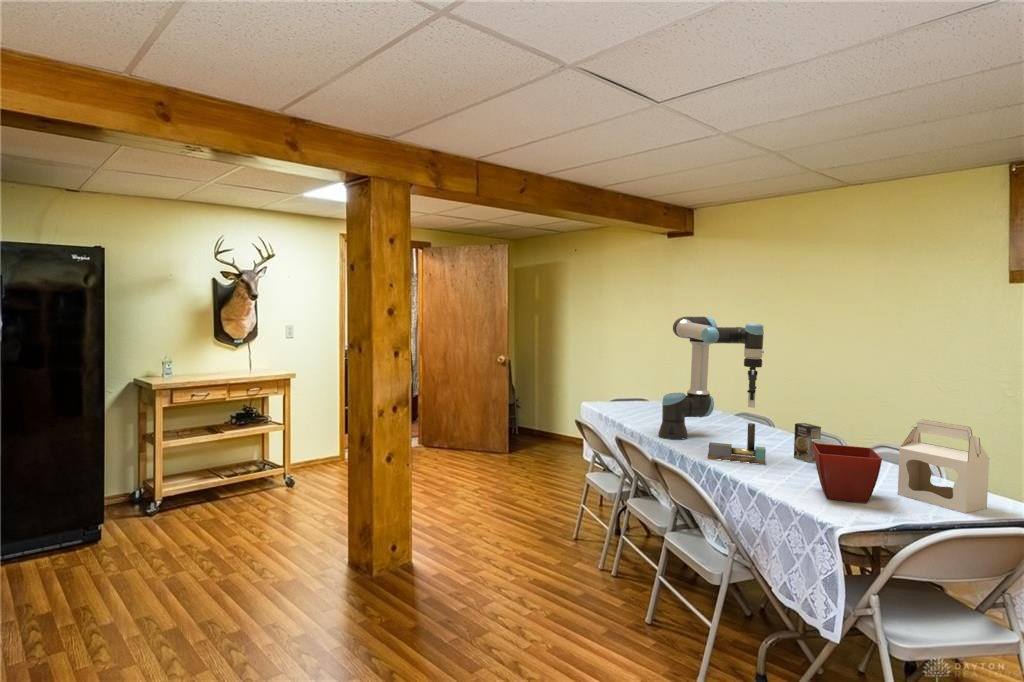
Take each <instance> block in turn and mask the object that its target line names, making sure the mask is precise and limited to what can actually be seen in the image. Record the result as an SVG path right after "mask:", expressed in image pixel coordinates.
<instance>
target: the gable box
mask: <svg viewBox="0 0 1024 682" xmlns="http://www.w3.org/2000/svg"><path fill="white" fill-rule="evenodd" d="M972 431H973V430H972V428H971V427H970V426H965V425H960V424H954V423H946V422H940V421H935V420H929V419H919V420H918V422H916V426H910V432H909V434H908V436H907V437H906V438H905V440H904V441H903V443H902V444H901V446H900V447H899V451H898V453H899V455H898V458H899V459H898V475H897V477H898V478H897V479H898V481H897V495H898V496H901V497H906V498H908V499H909V498H910V499H913V500H916V501H920V502H924V503H927V504H930V505H934V506H937V507H941V508H945V509H948V510H952V511H956V512H959V513H963V514H968V513H972V512H977V511H980V510H984V509H987V508H988V495H989V494H988V492H989V474H990V473H989V471H990V457H989V456H988V454H987V452H986V451H985V449H984V447H983V446H982V444H981V438H980V437H977V436H975V435H973V432H972ZM921 433H923V434H931V435H937V436H940V437H941V436H943V437H946V438H954V439H958V440H963V441H967V442H968V450H962V449H957V448H952V447H949V446H947V447H946V446H942V445H936V444H931V443H927V442H922V440H921V439H922V438H921ZM930 465H931V466H934V467H939V468H940V467H941V468H948V469H952V470H954V471H955V472H956V473H957V478H956V480H955V482H954V483H953V486H952V487H951V486H938V485H934V484H933V483H932V481H931V478H932V470H931V466H930Z"/></svg>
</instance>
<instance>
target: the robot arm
mask: <svg viewBox="0 0 1024 682" xmlns="http://www.w3.org/2000/svg"><path fill="white" fill-rule="evenodd" d="M672 332H673V333H674V335H675V336H677V337H678V338H680V339H681V338H682V339H689V343H690V344H691V367H690V369H691V370H690V385H689V386H690V388H689V389H688V390H687V391H686V392H687V393H686V394H685V392H670V393H666V394H665V395H663V397H662V404H661V405H662V408H661V409H662V410H661V411H662V414H661V417H662V418H661V419H662V420H661V421H662V422H661V424H660V428H659V430H658V437H659V436H660V438H662V437H663V438H662V439H666V438H670V439H669V440H675V439H681V440H683V439H682V438H687V437H688V435H689V433H688V430H687V426H686V421H685V420H686V418H705V417H709V416H710V415H711V414H712V412H713V411H714V407H715V401H714V397H713V396H712V395H711V393H710V391H709V390H708V374H709V357H710V356H709V354H710V345H713V344H742V345H744V349H743V350H744V353H743V357H744V359H743V366H744V367H747V368H749V370H747V377H748V390H747V392H746V393H748V397H747V398H748V399H747V400H748V401H747V403H748V404H747V405H748V406H747V407H748V408H755V407H756V390H757V386H756V382H757V380H758V370H757V369H756V368H762V366H763V359H762V358H763V354H764V353H765V351H764V350H763V347H764V325H763V324H761V323H746V324H745V326H744V327H742V326H735V327H727V326H726V327H725V326H724V327H723V326H721V327H719V326H718V324H717V322H716V320H715V319H714V318H713V317H709V316H681V317H679V318H677V319H676V320H675V321H674V322H673V324H672ZM687 439H688V438H687Z"/></svg>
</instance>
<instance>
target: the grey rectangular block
mask: <svg viewBox="0 0 1024 682" xmlns="http://www.w3.org/2000/svg"><path fill="white" fill-rule="evenodd" d="M732 445H733V444H732V443H723V442H721V443H720V442H712V441H710V442H709V444H708V452H709V455H711V456H721V457H731V455H732V454H731V448H733V446H732Z"/></svg>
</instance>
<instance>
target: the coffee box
mask: <svg viewBox="0 0 1024 682" xmlns="http://www.w3.org/2000/svg"><path fill="white" fill-rule="evenodd" d="M821 434H822V427H821V426H819V425H815V424H810V423H806V422H802V423H801V422H798V423H797V422H796V423H795V424H794V440H793V441H794V442H793V445H794V446H793V458H794V459H796V460H800V461H802V462H806V463H816V461H815V455H814V448H813V443H812V439H819V440H821Z"/></svg>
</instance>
